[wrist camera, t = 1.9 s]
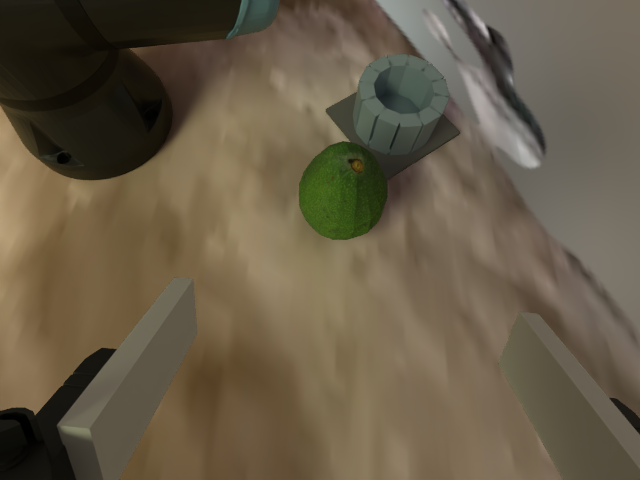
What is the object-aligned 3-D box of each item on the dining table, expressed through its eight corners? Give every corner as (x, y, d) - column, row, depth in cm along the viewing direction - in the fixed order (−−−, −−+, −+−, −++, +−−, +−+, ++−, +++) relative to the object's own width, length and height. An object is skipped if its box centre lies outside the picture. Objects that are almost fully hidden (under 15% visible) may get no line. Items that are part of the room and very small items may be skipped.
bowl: (337, 111, 41) (342, 78, 36) (398, 77, 43) (410, 42, 38) (386, 168, 39) (397, 141, 34) (447, 130, 41) (466, 99, 36)
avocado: (306, 258, 36) (306, 209, 24) (294, 188, 38) (289, 114, 27) (383, 246, 36) (419, 193, 25) (367, 178, 39) (392, 101, 27)
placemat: (325, 111, 41) (325, 109, 41) (398, 70, 44) (399, 68, 43) (383, 182, 39) (384, 180, 38) (458, 134, 41) (460, 132, 41)
